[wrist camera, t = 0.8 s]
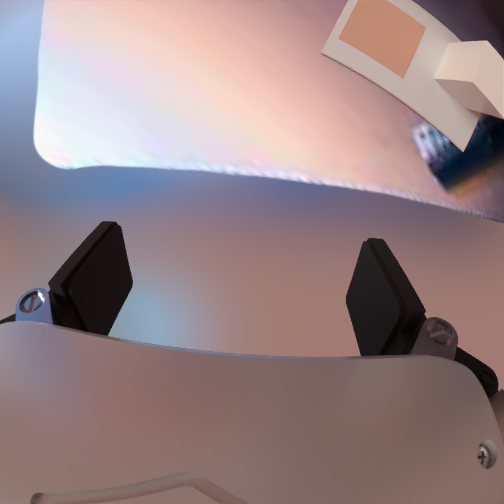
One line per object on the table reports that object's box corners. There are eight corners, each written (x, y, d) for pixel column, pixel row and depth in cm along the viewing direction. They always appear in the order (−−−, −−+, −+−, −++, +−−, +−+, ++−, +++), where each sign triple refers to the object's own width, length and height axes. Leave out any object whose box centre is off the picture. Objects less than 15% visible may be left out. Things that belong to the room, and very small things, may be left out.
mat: (363, -28, 19) (364, -30, 19) (493, 77, 24) (495, 77, 23) (320, 53, 27) (321, 52, 27) (461, 151, 32) (463, 152, 31)
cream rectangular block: (448, 43, 23) (487, 40, 15) (480, 74, 24) (518, 79, 16) (433, 78, 26) (472, 81, 19) (466, 108, 28) (504, 119, 20)
